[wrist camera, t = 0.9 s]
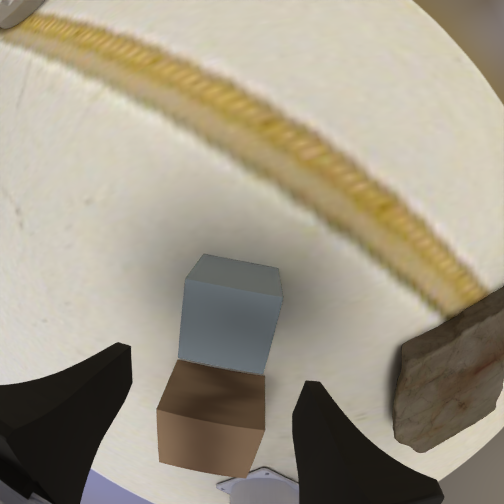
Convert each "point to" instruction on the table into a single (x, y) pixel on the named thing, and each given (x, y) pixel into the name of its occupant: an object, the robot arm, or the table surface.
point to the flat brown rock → (450, 376)
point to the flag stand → (16, 11)
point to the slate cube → (230, 313)
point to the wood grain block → (211, 419)
